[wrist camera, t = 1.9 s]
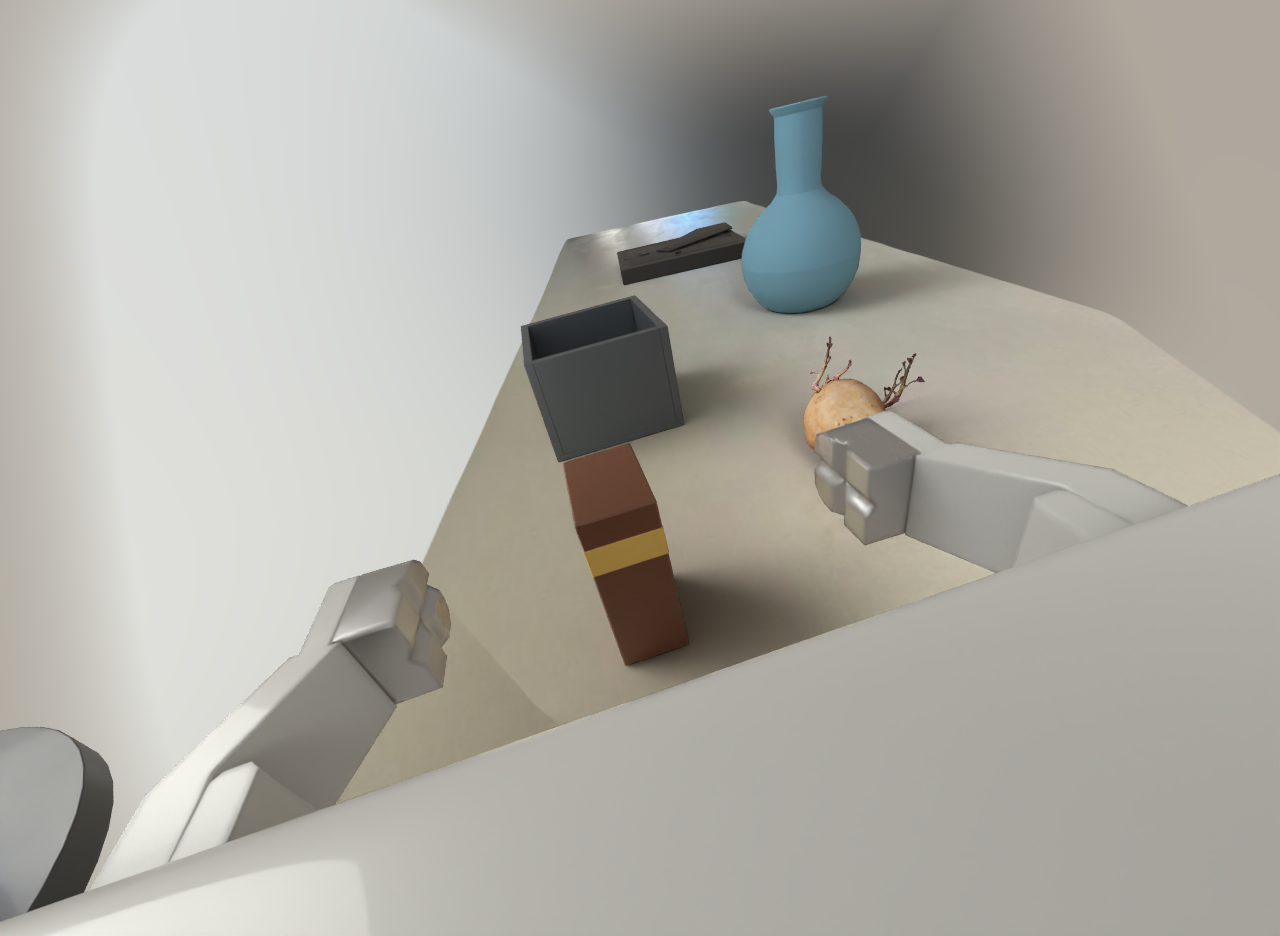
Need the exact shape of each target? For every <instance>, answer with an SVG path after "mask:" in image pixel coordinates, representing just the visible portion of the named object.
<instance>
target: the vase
mask: <svg viewBox="0 0 1280 936" xmlns="http://www.w3.org/2000/svg"><path fill="white" fill-rule="evenodd" d="M826 99H827V96H823V97H819V98H815V99H811V100H806V101H802V102H798V103H794V104H790V105H786V106H782V107H777V108H773V109H770V110H769V112H770V113H771V114H772V116H773V117H774V136H775V137H774V140H775V157H776V174H777V185H778V187H777V194H776V196H775V198H774V200H773V201H772V203H771V204H770V205H769V206H768V207H767V208H766V209H765V210H764V211H763V212H762V213H761V215H760V216H759V218H758V219H757V220H756V222H755V223H754V224H753V226H752V227H751V229H750V231H749V233H748V235H747V238H746V240H745V244H744V248H743V251H742V271H743V277H744V281H745V283H746V285H747V287H748V289H749V291H750V292H751V293H752V294H753V296H754V297H755V298H756V300H757V301H758V302H759V303H760V304H761V305H762V306H764V307H765V308H767V309H768V310H771V311H775V312H780V313H803V312H808V311H813V310H817V309H820V308H823V307H825V306H828V305H830V304H831V303H833V302H834V301H835V300H836V299H838V298H839V297H840V296H841V295H842V294H844V292H845V291H846V289H847V288H848V286H849V285H850V283H851V282H852V280H853V278H854V276H855V274H856V271H857V269H858V267H859V260H860V253H861V235H860V230H859V227H858V224H857V222H856V219H855V217H854V215H853V214H852V212H851V211H850V209H849V208H848V207H847V206H846V205H845V204H843V203H842V202H841V201H840V200H839V199H838V198H836V197H835V196H833V195H831V194H829V193H828V192H827V191H826V190H825V189H824V188H823V187H822V184H821V178H820V177H821V161H822V106H823V104H824V102H825V101H826Z"/></svg>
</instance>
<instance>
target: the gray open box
mask: <svg viewBox="0 0 1280 936" xmlns="http://www.w3.org/2000/svg"><path fill="white" fill-rule="evenodd" d="M521 332H522V345H523V357H524V367H525V369H526V372H527V375H528V378H529V381H530V384H531V386H532V389H533V392H534V395H535V398H536V401H537V403H538V406H539V409H540V412H541V415H542V417H543V420H544V423H545V426H546V429H547V432H548V434H549V437H550V440H551V443H552V446H553V448H554V451H555V454H556V457H557V460H558V462H560V461H563V460H567V459H570V458H573V457H577V456H580V455H583V454H587V453H590V452H594V451H597V450H600V449H604V448H607V447H610V446H614V445H617V444H620V443H624V442H627V441H630V440H634V439H637V438H641V437H644V436H647V435H651V434H654V433H657V432H661V431H664V430H667V429H671V428H674V427H677V426H681V425H684V420H683V415H682V409H681V403H680V397H679V391H678V385H677V379H676V374H675V368H674V362H673V356H672V350H671V344H670V338H669V332H668V326H667V325H666V324H665V323H664V322H663V321H661V320H660V319H659V318H658V317H657V316H656V315H655V314H654V313H653V312H652V311H651V310H650V309H649V308H648V307H647V306H646V305H645V304H644V303H642V302H641V301H640V300H639V299H638V298H637V297H636V296H631V297H627V298H623V299H620V300H616V301H612V302H608V303H605V304H601V305H597V306H594V307H590V308H586V309H583V310H579V311H575V312H572V313H568V314H564V315H560V316H557V317H553V318H549V319H546V320H542V321H538V322H535V323H531V324H528V325H524V326H521Z"/></svg>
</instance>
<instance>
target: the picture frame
mask: <svg viewBox="0 0 1280 936" xmlns="http://www.w3.org/2000/svg"><path fill="white" fill-rule="evenodd" d="M730 229H732V227H731V226H730V225H728V224H727V223H721V224H716V225H712V226H708V227H703V228H699V229H696V230H694V231H692V232H690V233H688V234H686V235H684V236H682V237H680V238H676V239H672V240H668V241H663V242H659V243H655V244H650V245H646V246H642V247H638V248H633V249H629V250H625V251H620V252H617V255H618V260H619V265H620V270H621V274H622V279H623V284H624V285H626V284H631V283H635V282H639V281H644V280H648V279H652V278H657V277H661V276H666V275H670V274H674V273H679V272H683V271H687V270H692V269H696V268H701V267H705V266H709V265H714V264H718V263H723V262H727V261H731V260H736V259H740V258H742V251H743V248H744V244H745V240H746V239H745V238H744V237H742V236H740V235H738V234H737V233H735V232H733V231H732V230H730Z"/></svg>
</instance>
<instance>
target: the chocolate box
mask: <svg viewBox="0 0 1280 936" xmlns="http://www.w3.org/2000/svg"><path fill="white" fill-rule="evenodd" d="M563 468H564V473H565V478H566V484H567V489H568V494H569V499H570V505H571V510H572V515H573V521H574V526H575V529H576V532H577V535H578V538H579V540H580V543H581V546H582V549H583V553H584V556H585V559H586V562H587V564H588V567H589V570H590V573H591V575H592V577H593V579H594V581H595V584H596V587H597V590H598V592H599V595H600V598H601V601H602V603H603V606H604V609H605V612H606V614H607V617H608V620H609V623H610V625H611V628H612V631H613V633H614V636H615V639H616V642H617V644H618V647H619V650H620V653H621V655H622V658H623V661H624V664H625V665H629V664H632V663H635V662H638V661H641V660H644V659H647V658H650V657H653V656H656V655H659V654H662V653H665V652H668V651H671V650H674V649H677V648H679V647H682V646H685V645H688V644H689V640H688V636H687V632H686V627H685V623H684V618H683V614H682V610H681V605H680V601H679V597H678V592H677V588H676V584H675V579H674V575H673V571H672V566H671V562H670V558H669V550H668V546H667V541H666V537H665V533H664V528H663V526H662V523H661V519H660V514H659V510H658V506H657V502H656V499H655V497H654V495H653V493H652V491H651V488H650V486H649V484H648V482H647V480H646V477H645V475H644V473H643V471H642V469H641V466H640V464H639V462H638V460H637V458H636V455H635V453H634V451H633V449H632V447H631V445H630V444H625V445H622V446H618V447H615V448H612V449H608V450H605V451H602V452H598V453H595V454H592V455H588V456H585V457H582V458H578V459H575V460H571V461H568V462H565V463H563Z"/></svg>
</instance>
